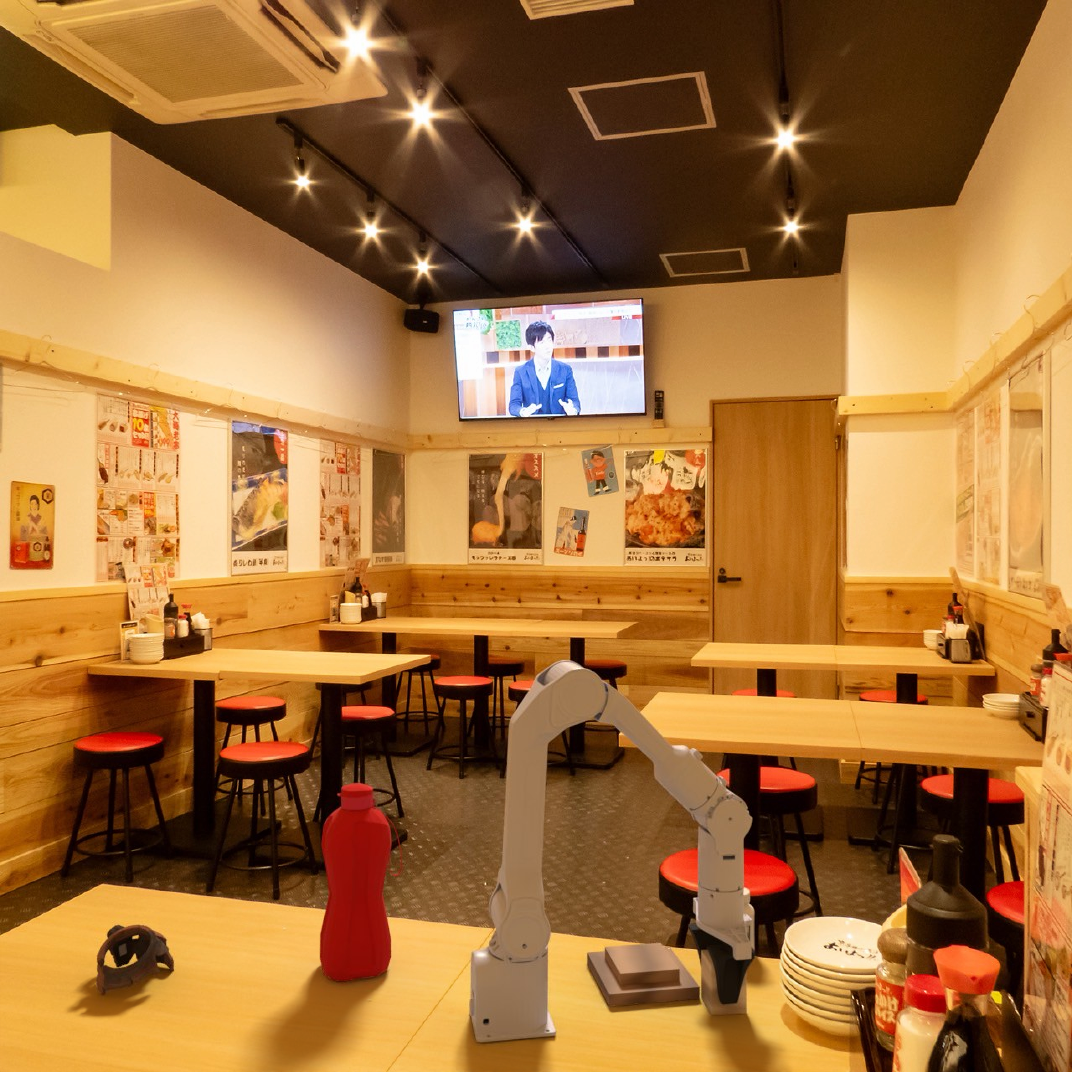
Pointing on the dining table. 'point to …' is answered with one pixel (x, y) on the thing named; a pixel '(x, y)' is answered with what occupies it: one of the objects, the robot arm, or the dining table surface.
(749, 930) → the pill bottle
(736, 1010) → the oak block
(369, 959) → the water bottle
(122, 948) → the dark brown ring housing
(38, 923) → the dining table surface
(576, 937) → the dining table surface
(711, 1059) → the dining table surface
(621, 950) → the walnut pedestal
